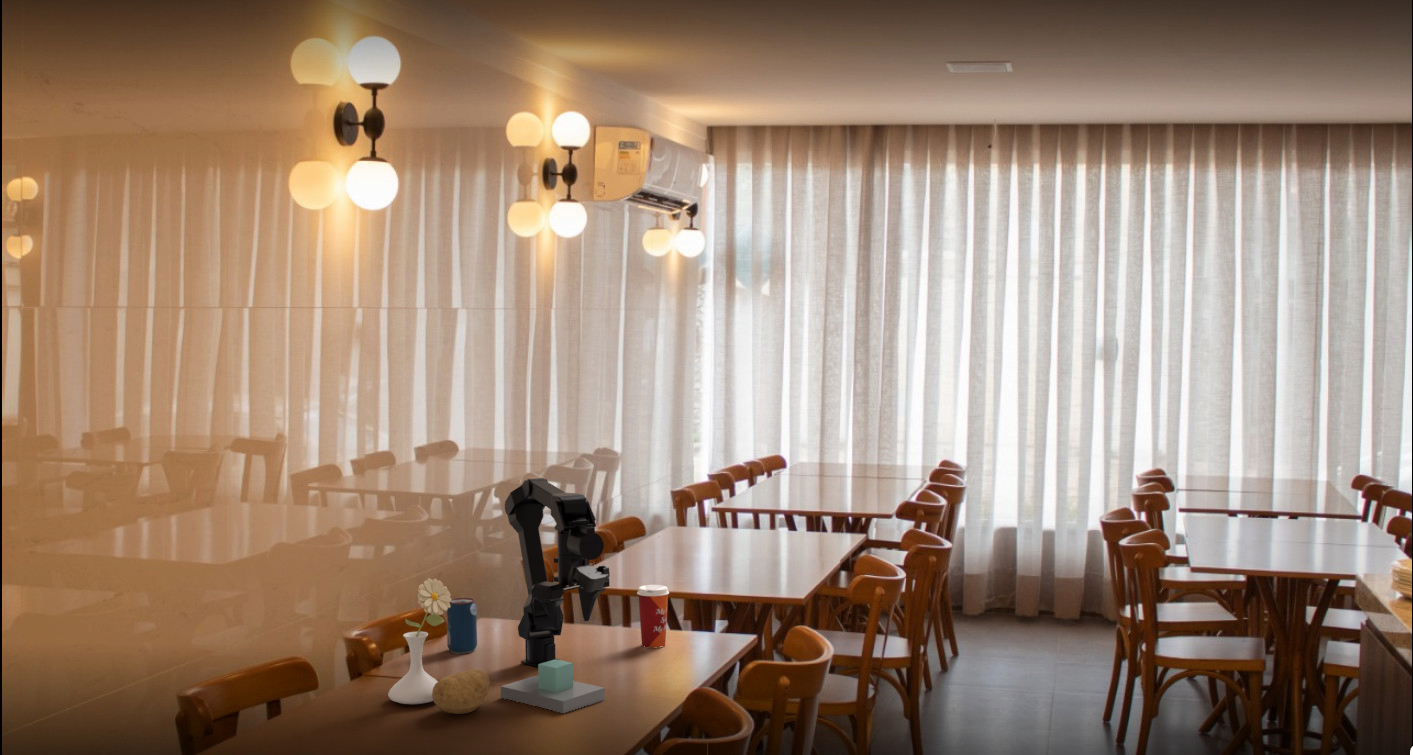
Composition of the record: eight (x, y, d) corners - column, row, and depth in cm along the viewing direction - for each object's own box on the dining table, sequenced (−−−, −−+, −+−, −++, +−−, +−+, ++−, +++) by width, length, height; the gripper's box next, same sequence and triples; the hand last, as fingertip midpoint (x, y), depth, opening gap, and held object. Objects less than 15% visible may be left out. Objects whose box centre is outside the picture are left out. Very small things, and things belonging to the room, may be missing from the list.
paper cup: (665, 650, 311) (665, 591, 311) (634, 648, 313) (633, 590, 312) (673, 642, 319) (672, 584, 318) (642, 640, 321) (641, 583, 320)
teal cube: (555, 683, 274) (555, 659, 274) (573, 687, 271) (572, 662, 271) (538, 688, 270) (538, 664, 270) (556, 692, 267) (555, 668, 267)
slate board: (500, 698, 272) (500, 686, 272) (542, 685, 281) (542, 673, 281) (563, 713, 261) (563, 701, 261) (604, 699, 270) (604, 687, 270)
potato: (504, 705, 267) (503, 666, 266) (461, 724, 254) (460, 683, 254) (464, 699, 271) (464, 661, 271) (421, 718, 259) (420, 677, 258)
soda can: (483, 649, 313) (482, 599, 313) (463, 655, 307) (462, 604, 307) (461, 645, 317) (460, 596, 316) (441, 651, 311) (440, 601, 311)
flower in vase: (396, 712, 263) (394, 587, 262) (382, 697, 273) (380, 577, 272) (459, 703, 269) (458, 581, 268) (444, 689, 279) (442, 572, 278)
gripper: (567, 563, 272) (568, 638, 273) (627, 550, 287) (628, 622, 287) (529, 557, 279) (530, 631, 280) (590, 545, 294) (591, 615, 294)
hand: (571, 624), depth 285 cm, fingers open, 9 cm apart
